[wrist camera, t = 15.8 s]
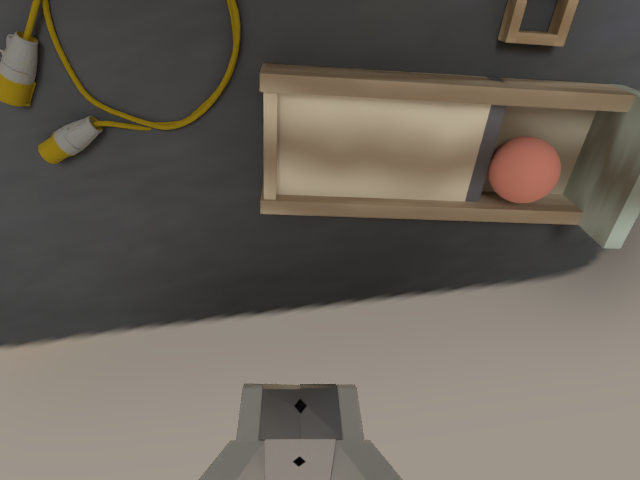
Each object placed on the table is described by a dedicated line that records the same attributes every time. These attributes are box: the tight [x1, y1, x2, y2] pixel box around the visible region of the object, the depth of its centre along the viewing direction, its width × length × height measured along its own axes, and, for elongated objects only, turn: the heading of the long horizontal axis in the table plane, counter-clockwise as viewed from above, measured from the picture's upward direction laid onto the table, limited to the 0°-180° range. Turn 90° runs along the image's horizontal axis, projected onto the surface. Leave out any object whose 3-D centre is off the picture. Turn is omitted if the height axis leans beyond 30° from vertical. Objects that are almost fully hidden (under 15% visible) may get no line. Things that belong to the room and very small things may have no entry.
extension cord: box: [0, 0, 240, 164], centre depth 26 cm, size 12×16×2 cm
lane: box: [260, 63, 640, 249], centre depth 28 cm, size 9×24×6 cm, turn 86°
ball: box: [488, 137, 561, 203], centre depth 29 cm, size 4×4×4 cm
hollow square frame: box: [498, 0, 579, 46], centre depth 26 cm, size 4×4×1 cm
